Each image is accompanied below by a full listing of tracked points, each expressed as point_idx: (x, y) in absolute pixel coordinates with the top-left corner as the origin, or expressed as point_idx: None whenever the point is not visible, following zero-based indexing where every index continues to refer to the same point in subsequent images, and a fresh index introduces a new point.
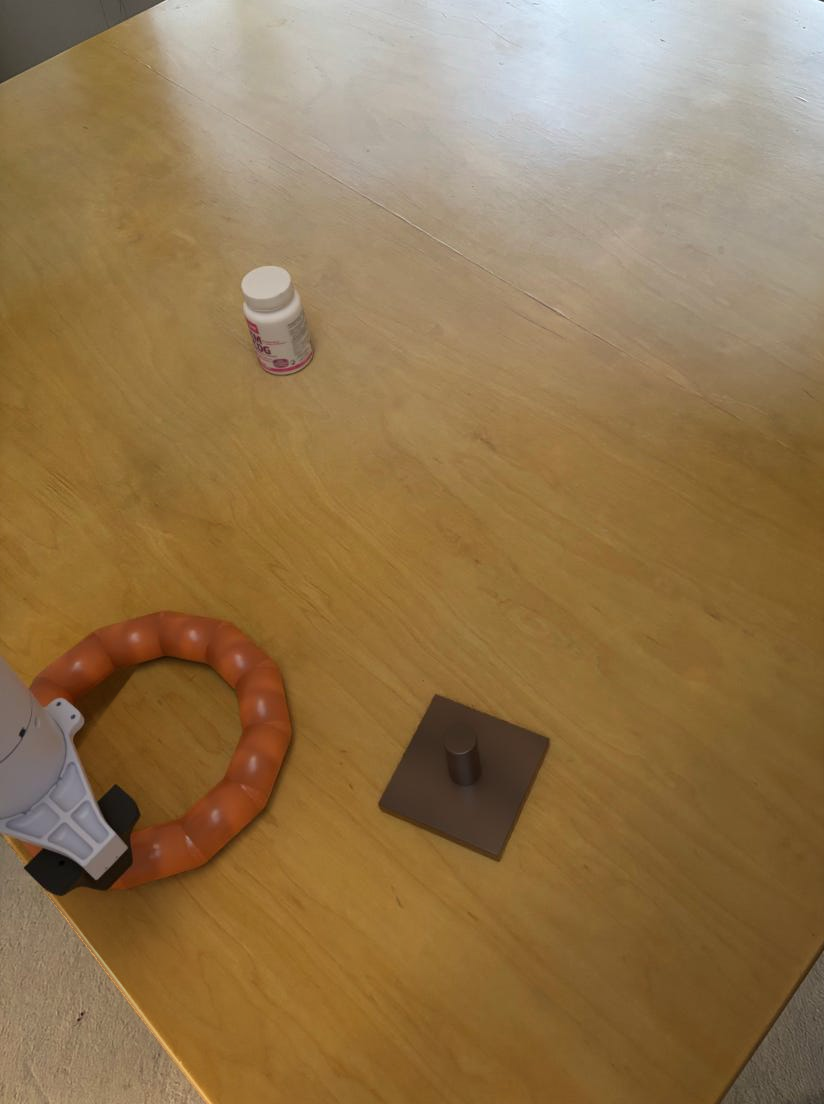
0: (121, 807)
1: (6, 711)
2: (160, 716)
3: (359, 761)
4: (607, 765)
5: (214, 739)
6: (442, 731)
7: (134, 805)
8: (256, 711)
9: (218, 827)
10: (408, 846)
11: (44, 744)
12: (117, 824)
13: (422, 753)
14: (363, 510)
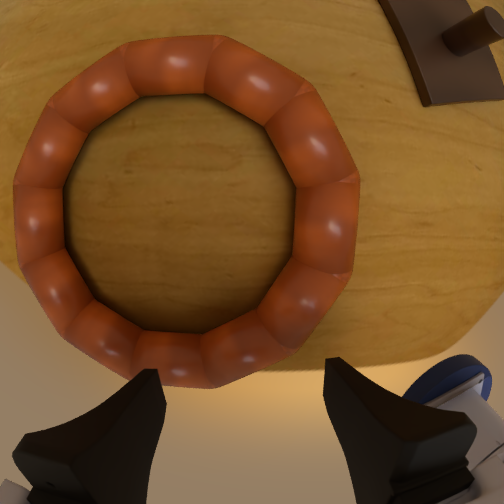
0: (451, 446)
1: None
2: (143, 182)
3: (373, 75)
4: None
5: (220, 154)
6: (416, 17)
7: (468, 426)
8: (272, 90)
9: (353, 238)
10: (458, 123)
11: None
12: (455, 455)
13: (422, 42)
14: None
